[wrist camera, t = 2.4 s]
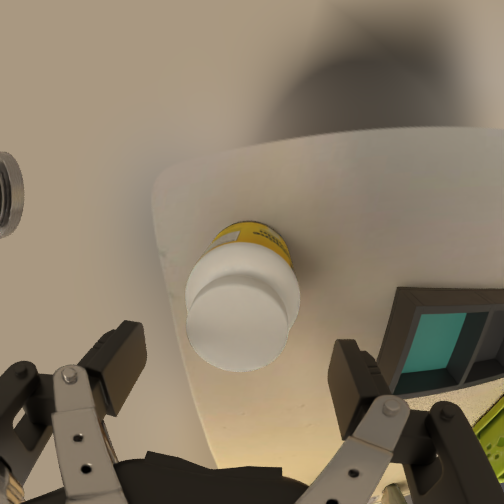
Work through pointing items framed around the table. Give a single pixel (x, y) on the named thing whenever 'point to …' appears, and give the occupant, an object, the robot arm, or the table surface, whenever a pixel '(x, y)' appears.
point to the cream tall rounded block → (393, 495)
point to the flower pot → (493, 437)
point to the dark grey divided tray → (442, 340)
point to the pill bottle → (242, 298)
